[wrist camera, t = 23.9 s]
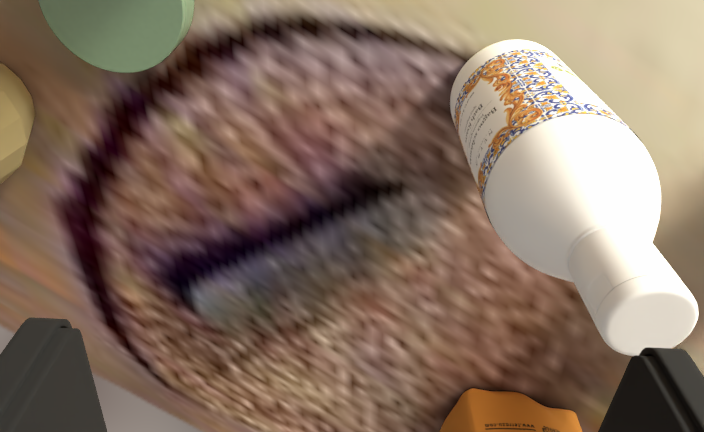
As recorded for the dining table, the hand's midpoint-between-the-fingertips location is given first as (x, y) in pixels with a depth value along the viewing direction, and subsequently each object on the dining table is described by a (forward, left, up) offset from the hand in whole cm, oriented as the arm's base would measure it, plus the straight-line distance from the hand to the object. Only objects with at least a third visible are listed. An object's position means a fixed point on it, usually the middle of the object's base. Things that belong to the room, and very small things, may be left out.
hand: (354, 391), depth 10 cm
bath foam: (-6, -8, -26) cm, 28 cm away
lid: (+4, +12, -24) cm, 28 cm away
